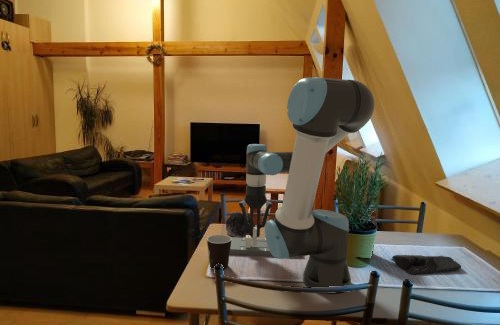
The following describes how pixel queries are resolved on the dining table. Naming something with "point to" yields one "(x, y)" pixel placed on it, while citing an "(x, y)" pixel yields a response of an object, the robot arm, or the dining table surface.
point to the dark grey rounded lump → (237, 225)
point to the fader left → (248, 241)
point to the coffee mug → (219, 250)
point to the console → (240, 244)
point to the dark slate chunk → (425, 264)
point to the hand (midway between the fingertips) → (254, 244)
